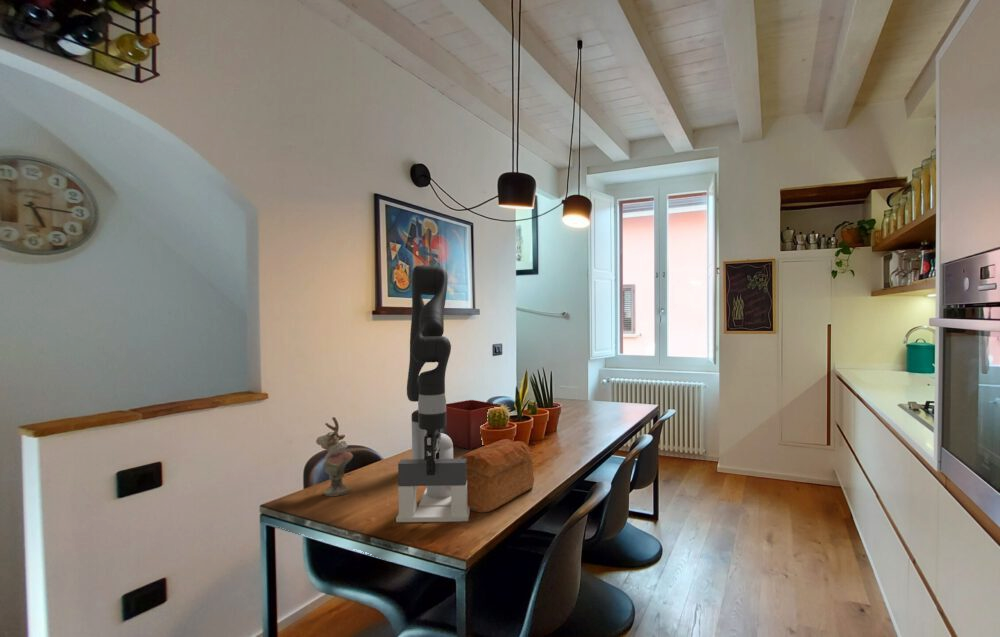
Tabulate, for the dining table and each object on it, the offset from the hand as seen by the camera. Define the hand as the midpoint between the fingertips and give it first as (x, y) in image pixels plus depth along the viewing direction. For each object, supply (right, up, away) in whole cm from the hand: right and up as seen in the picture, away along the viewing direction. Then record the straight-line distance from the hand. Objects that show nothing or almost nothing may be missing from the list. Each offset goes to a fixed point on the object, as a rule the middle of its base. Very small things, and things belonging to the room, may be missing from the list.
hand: (433, 470), depth 134 cm
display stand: (0, -13, +8) cm, 15 cm away
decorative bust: (-34, -13, +21) cm, 42 cm away
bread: (+17, -13, +15) cm, 26 cm away
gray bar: (0, -4, 0) cm, 4 cm away
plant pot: (+6, -12, +75) cm, 76 cm away
